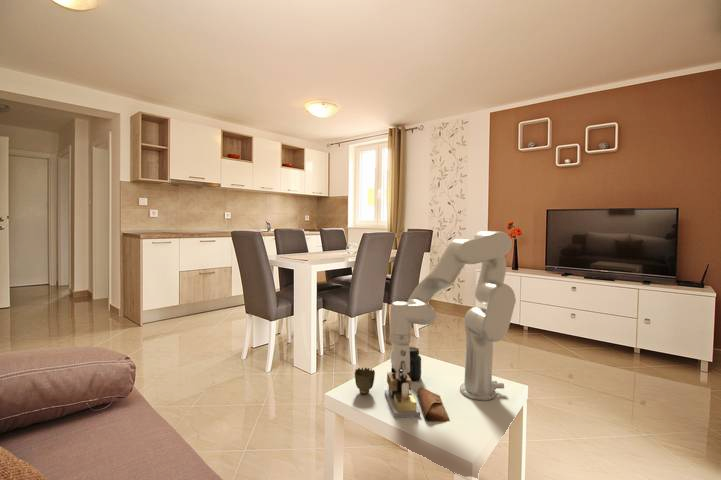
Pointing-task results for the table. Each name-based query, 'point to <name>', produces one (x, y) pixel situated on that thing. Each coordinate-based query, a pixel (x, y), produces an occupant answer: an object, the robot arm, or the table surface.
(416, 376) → the supplement bottle
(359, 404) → the table surface
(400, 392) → the stand rod
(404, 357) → the robot arm
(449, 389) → the table surface
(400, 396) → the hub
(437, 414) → the sunglasses case
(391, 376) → the collar
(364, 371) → the cup
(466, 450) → the table surface
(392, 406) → the parts board
